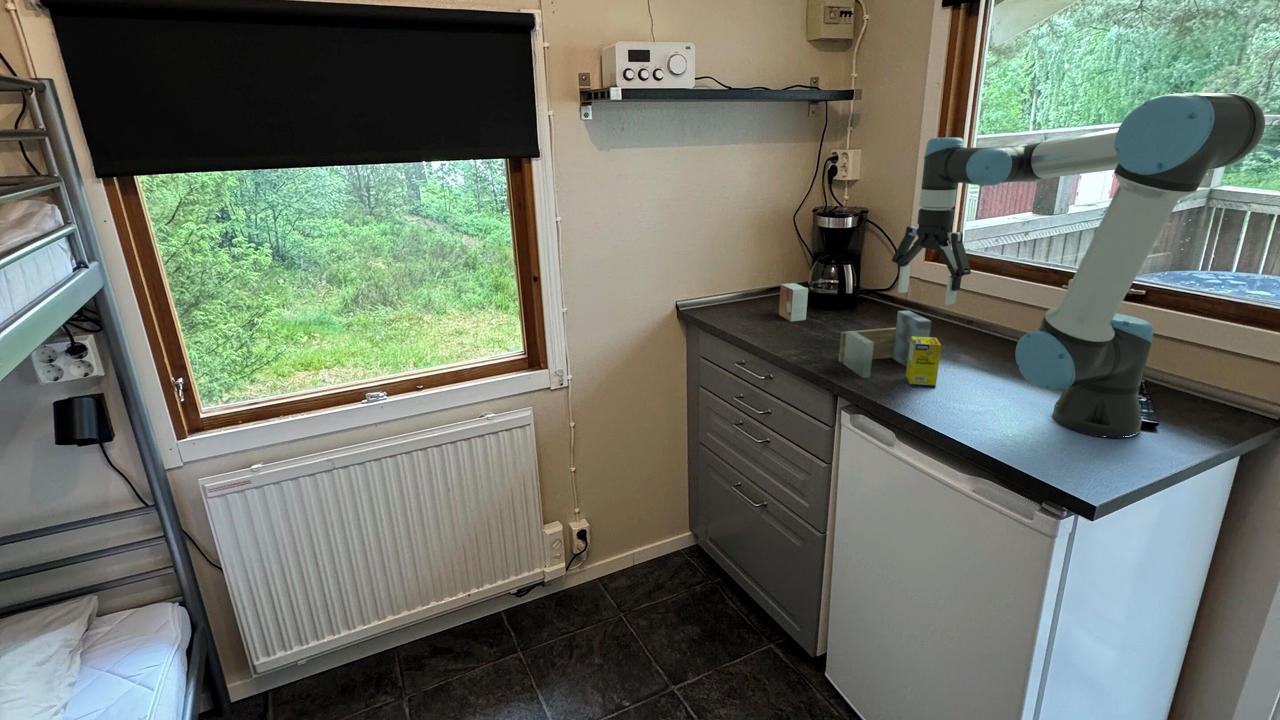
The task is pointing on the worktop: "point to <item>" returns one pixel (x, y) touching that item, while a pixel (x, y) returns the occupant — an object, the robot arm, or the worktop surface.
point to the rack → (893, 337)
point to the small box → (793, 302)
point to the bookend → (858, 353)
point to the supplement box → (923, 362)
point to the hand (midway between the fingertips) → (925, 298)
